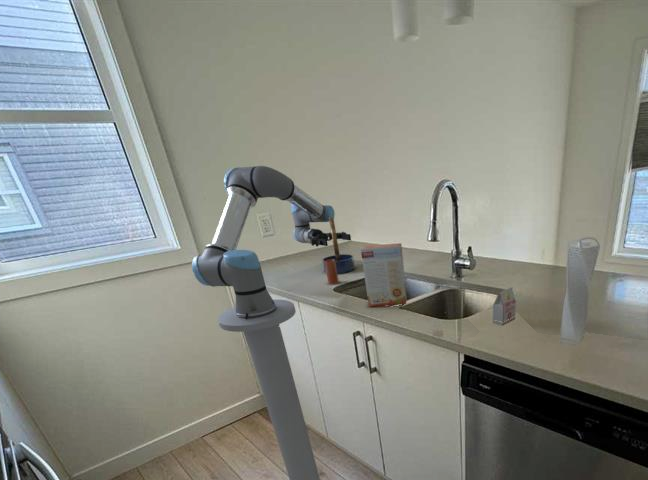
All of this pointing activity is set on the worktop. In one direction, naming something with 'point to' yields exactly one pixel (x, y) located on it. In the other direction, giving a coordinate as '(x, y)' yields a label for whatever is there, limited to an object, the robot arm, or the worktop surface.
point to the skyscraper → (578, 288)
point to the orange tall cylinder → (331, 271)
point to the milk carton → (504, 307)
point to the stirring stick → (334, 238)
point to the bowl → (342, 263)
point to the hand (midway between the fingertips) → (338, 240)
